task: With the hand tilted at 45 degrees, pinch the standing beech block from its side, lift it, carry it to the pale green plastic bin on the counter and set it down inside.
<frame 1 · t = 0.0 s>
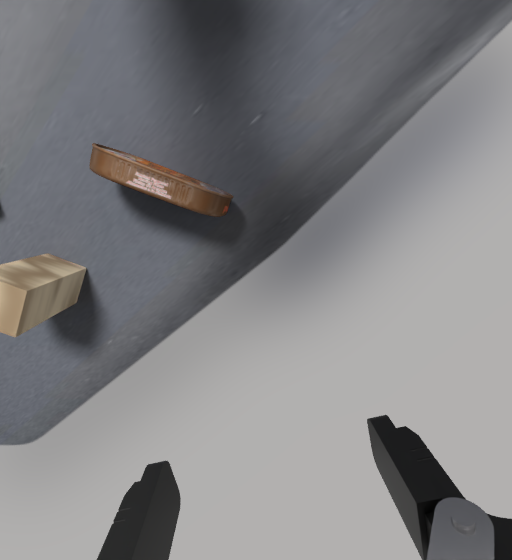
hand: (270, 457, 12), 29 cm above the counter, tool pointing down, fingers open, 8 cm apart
tin: (173, 184, 38), on the counter
beech block: (62, 278, 40), on the counter
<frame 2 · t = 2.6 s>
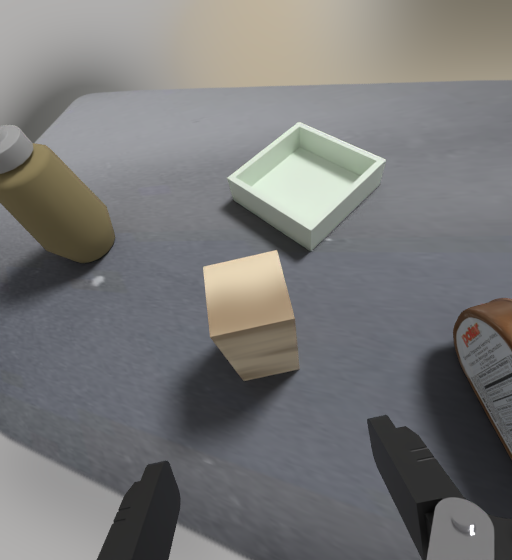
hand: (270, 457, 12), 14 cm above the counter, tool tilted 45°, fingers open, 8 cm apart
tin: (502, 421, 24), on the counter
bin: (304, 192, 38), on the counter
squeeze bottle: (94, 245, 39), on the counter
beech block: (266, 348, 29), on the counter
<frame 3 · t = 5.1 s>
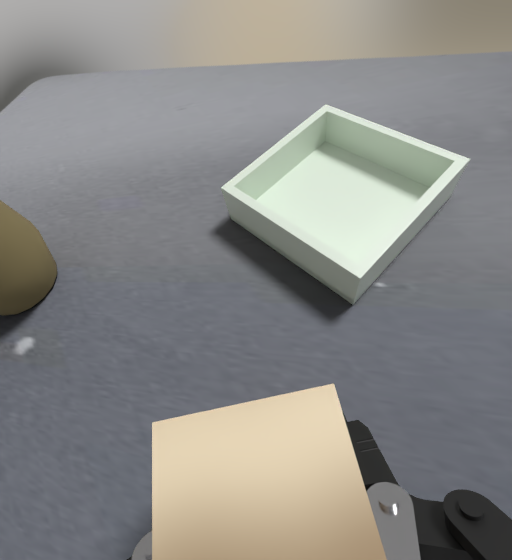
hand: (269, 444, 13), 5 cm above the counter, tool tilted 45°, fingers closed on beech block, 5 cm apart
bin: (336, 208, 26), on the counter
squeeze bottle: (27, 285, 26), on the counter
beech block: (287, 488, 16), on the counter, touching gripper
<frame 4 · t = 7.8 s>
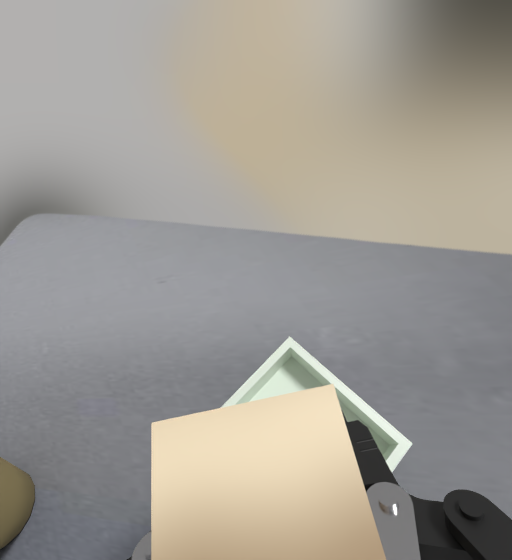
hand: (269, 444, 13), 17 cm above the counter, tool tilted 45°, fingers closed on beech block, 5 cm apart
bin: (295, 445, 27), on the counter
squeeze bottle: (6, 507, 28), on the counter
beech block: (287, 488, 16), point 11 cm above the counter, touching gripper
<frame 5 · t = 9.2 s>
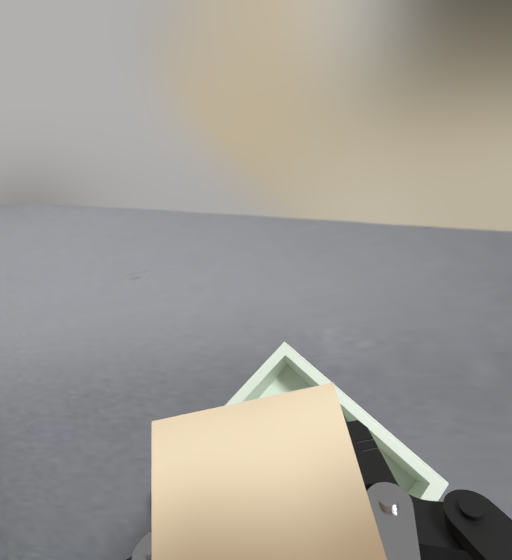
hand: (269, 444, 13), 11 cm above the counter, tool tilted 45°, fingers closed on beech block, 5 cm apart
bin: (294, 480, 22), on the counter
beech block: (287, 487, 16), point 6 cm above the counter, touching gripper
when the fingers open (8 cm above the counter, at t = 10.3 s): beech block drops 2 cm, resting on bin.
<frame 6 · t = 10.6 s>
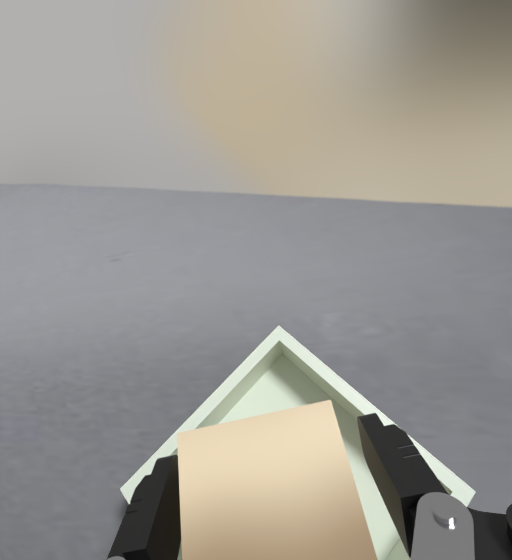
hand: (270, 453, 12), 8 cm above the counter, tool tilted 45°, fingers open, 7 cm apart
bin: (289, 486, 19), on the counter
beech block: (289, 488, 18), point 1 cm above the counter, touching bin
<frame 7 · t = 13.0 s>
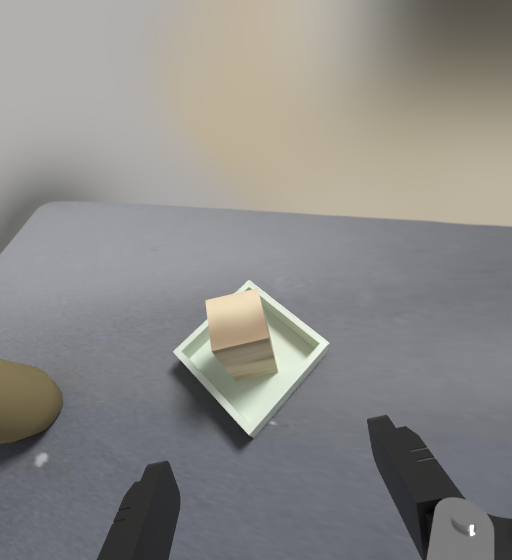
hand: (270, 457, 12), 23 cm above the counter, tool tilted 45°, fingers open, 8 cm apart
bin: (253, 357, 38), on the counter
squeeze bottle: (41, 408, 38), on the counter
beech block: (253, 356, 37), point 1 cm above the counter, touching bin
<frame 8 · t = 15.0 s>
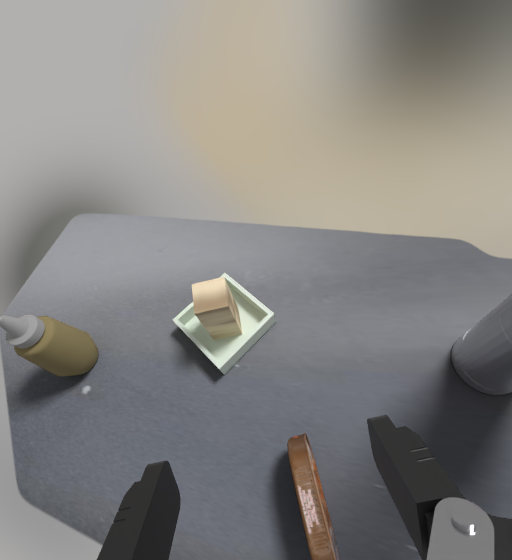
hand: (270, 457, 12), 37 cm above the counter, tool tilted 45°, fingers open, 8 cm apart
tin: (312, 500, 41), on the counter
bin: (226, 324, 56), on the counter
squeeze bottle: (84, 359, 57), on the counter
beech block: (226, 323, 55), point 1 cm above the counter, touching bin
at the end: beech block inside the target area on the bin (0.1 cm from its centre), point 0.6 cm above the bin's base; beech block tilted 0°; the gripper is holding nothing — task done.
